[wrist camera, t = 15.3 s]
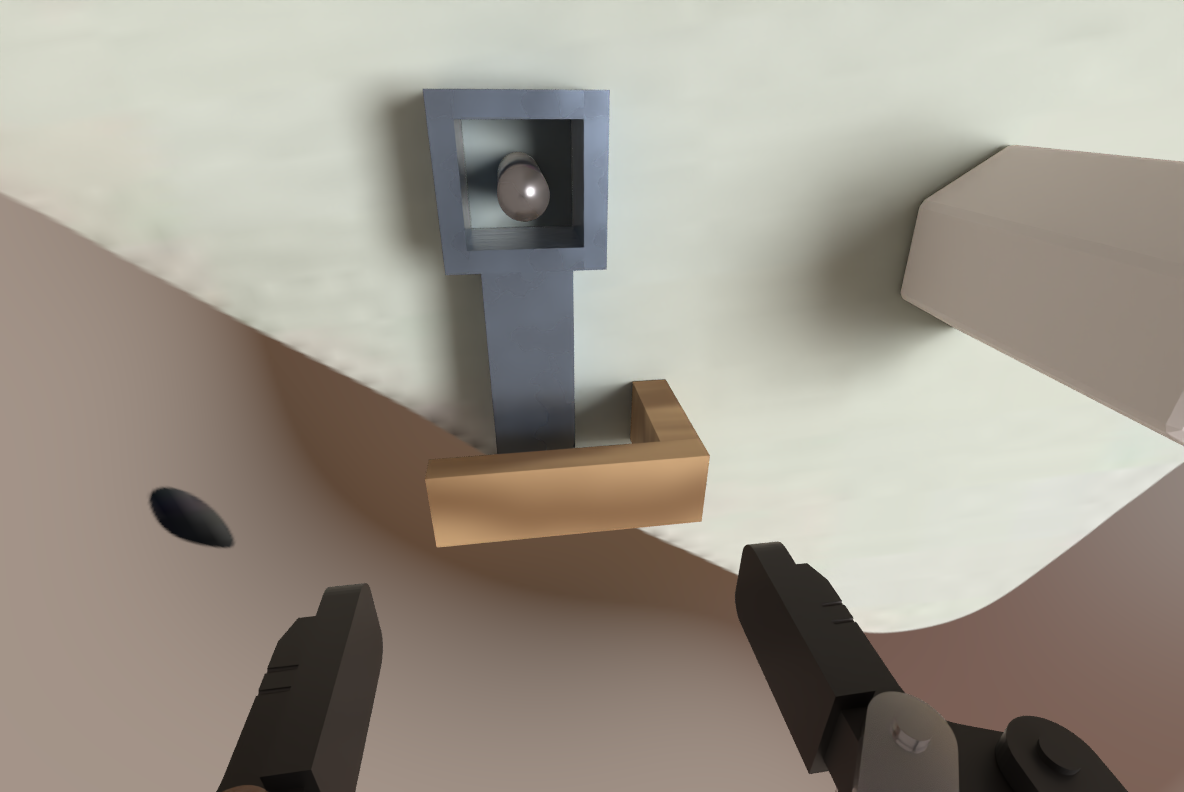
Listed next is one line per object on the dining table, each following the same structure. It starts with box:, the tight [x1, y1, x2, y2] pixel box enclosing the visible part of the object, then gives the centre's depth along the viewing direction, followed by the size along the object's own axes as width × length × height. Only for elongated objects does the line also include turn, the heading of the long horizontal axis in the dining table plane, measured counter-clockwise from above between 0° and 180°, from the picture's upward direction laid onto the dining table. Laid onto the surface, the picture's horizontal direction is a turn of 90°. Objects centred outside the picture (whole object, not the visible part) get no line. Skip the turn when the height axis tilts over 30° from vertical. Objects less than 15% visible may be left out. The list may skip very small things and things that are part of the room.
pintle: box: [497, 152, 550, 221], centre depth 24 cm, size 2×2×6 cm
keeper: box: [425, 380, 710, 547], centre depth 30 cm, size 4×13×8 cm, turn 90°
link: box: [423, 89, 610, 454], centre depth 28 cm, size 20×7×4 cm, turn 0°
